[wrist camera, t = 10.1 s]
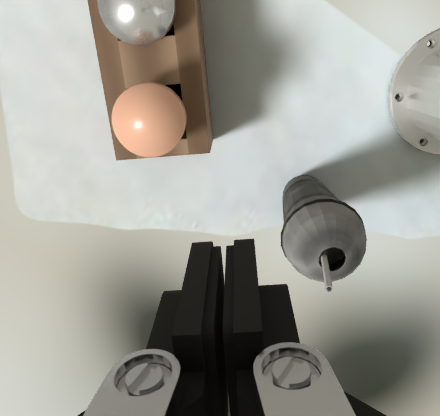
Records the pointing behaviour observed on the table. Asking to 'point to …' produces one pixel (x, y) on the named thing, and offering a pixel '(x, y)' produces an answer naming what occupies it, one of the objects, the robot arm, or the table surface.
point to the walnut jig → (160, 73)
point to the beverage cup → (320, 232)
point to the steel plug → (138, 19)
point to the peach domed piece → (149, 119)
